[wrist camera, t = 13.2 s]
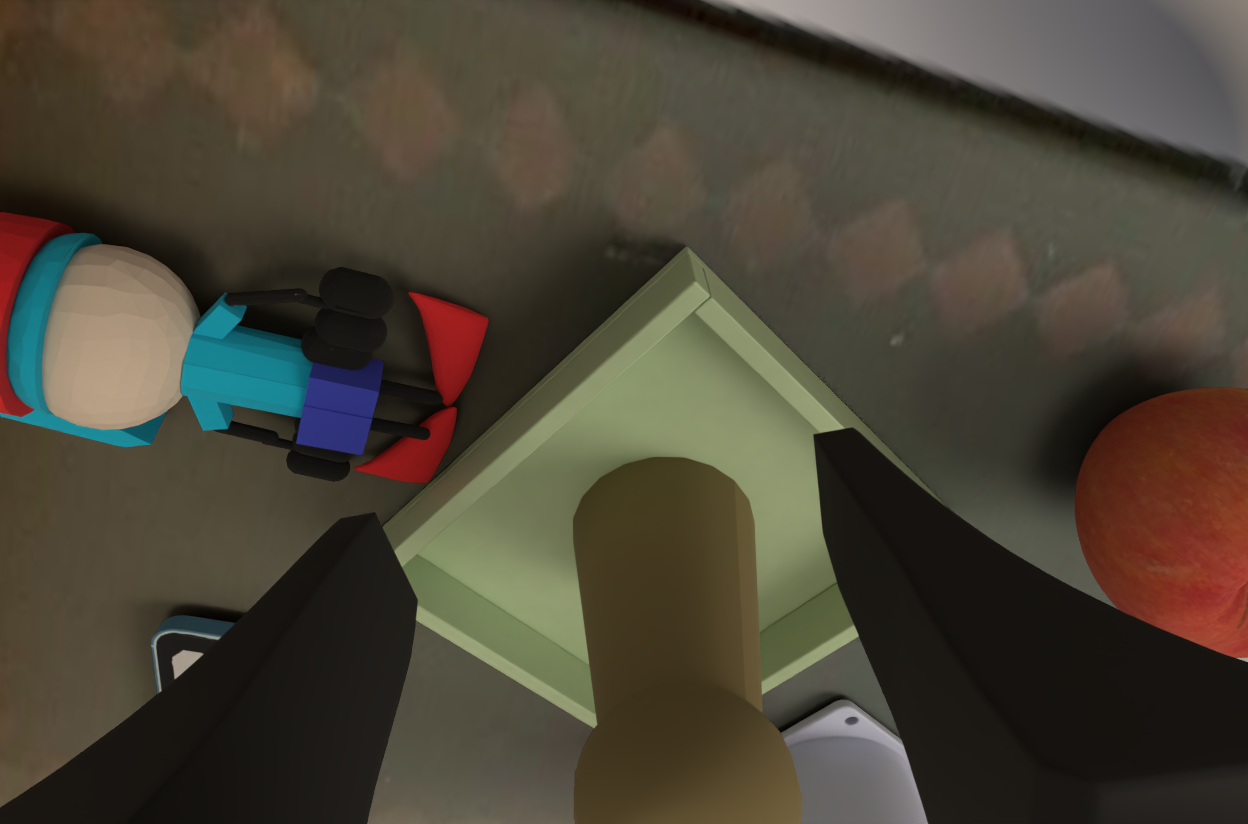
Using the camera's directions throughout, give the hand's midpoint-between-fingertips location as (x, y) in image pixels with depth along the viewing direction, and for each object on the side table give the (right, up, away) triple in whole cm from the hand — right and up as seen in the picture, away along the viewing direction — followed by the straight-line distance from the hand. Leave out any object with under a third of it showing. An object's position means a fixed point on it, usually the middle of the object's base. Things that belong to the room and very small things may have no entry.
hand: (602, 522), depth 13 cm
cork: (+2, -2, +13) cm, 13 cm away
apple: (+17, +1, +12) cm, 21 cm away
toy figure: (-11, +4, +10) cm, 16 cm away
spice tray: (+2, -2, +13) cm, 14 cm away
